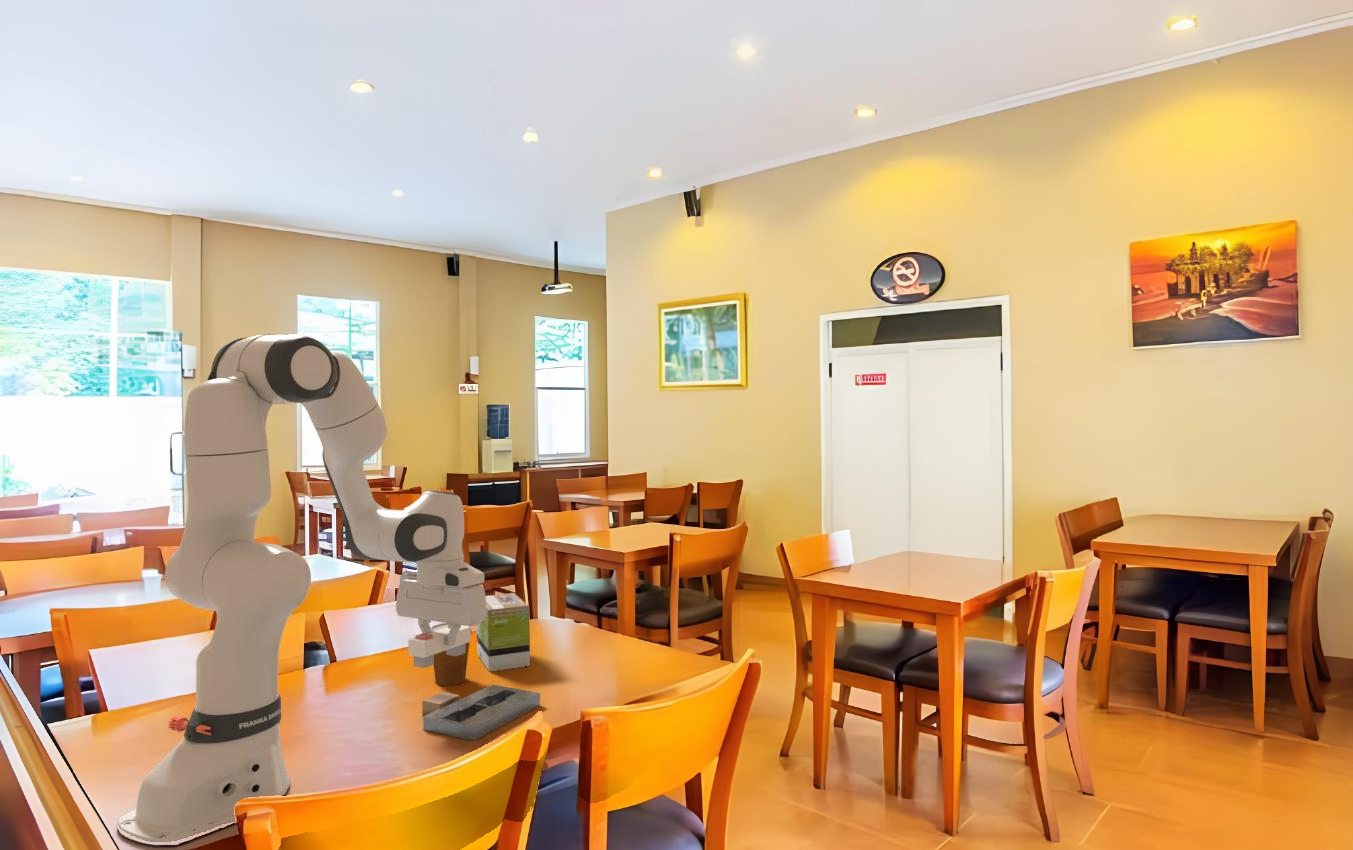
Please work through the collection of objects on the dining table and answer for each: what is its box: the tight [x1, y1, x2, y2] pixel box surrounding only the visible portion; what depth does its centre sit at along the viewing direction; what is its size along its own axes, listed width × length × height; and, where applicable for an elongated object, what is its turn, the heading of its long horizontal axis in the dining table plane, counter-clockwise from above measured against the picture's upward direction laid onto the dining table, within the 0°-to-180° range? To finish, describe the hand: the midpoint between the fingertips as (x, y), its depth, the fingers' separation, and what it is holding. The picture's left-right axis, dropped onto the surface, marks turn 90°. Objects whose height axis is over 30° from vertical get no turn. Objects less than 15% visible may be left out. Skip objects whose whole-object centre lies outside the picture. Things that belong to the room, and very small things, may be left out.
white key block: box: [407, 626, 472, 669], centre depth 156 cm, size 13×4×6 cm, turn 154°
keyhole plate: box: [422, 684, 541, 742], centre depth 154 cm, size 20×12×2 cm, turn 154°
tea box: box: [476, 592, 531, 672], centre depth 191 cm, size 15×10×15 cm, turn 25°
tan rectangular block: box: [421, 691, 461, 717], centre depth 156 cm, size 6×4×3 cm
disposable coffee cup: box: [430, 622, 473, 686], centre depth 176 cm, size 10×10×12 cm
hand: (439, 643), depth 156 cm, fingers closed on white key block, 4 cm apart
